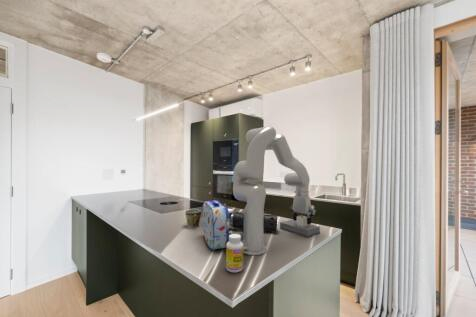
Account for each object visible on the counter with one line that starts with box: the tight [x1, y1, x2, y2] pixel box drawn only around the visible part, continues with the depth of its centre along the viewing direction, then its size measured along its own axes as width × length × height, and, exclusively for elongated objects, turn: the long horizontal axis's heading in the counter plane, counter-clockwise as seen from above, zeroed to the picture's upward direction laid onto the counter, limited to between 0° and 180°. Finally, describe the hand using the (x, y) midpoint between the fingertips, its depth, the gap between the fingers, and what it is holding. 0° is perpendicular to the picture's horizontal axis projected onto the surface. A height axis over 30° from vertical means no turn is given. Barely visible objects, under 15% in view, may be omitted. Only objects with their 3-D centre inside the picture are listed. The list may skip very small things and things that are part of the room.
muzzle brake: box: [230, 211, 278, 233], centre depth 131 cm, size 10×28×10 cm, turn 78°
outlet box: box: [279, 218, 321, 238], centre depth 130 cm, size 12×20×4 cm, turn 38°
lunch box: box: [201, 199, 232, 251], centre depth 110 cm, size 28×10×22 cm, turn 21°
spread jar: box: [227, 208, 234, 231], centre depth 136 cm, size 12×11×12 cm
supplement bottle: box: [225, 233, 244, 273], centre depth 84 cm, size 7×7×13 cm
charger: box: [297, 215, 308, 227], centre depth 129 cm, size 5×5×8 cm
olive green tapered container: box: [184, 209, 202, 229], centre depth 136 cm, size 13×10×10 cm
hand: (302, 222), depth 129 cm, fingers open, 9 cm apart
